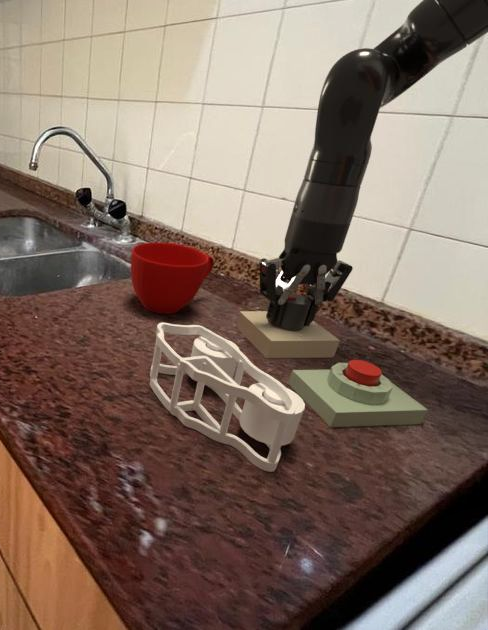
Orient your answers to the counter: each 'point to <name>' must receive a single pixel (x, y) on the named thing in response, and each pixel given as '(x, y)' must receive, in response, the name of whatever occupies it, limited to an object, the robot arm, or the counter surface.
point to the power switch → (355, 399)
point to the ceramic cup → (168, 275)
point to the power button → (363, 373)
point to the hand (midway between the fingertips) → (288, 323)
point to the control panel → (286, 338)
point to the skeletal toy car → (228, 393)
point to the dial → (295, 312)
